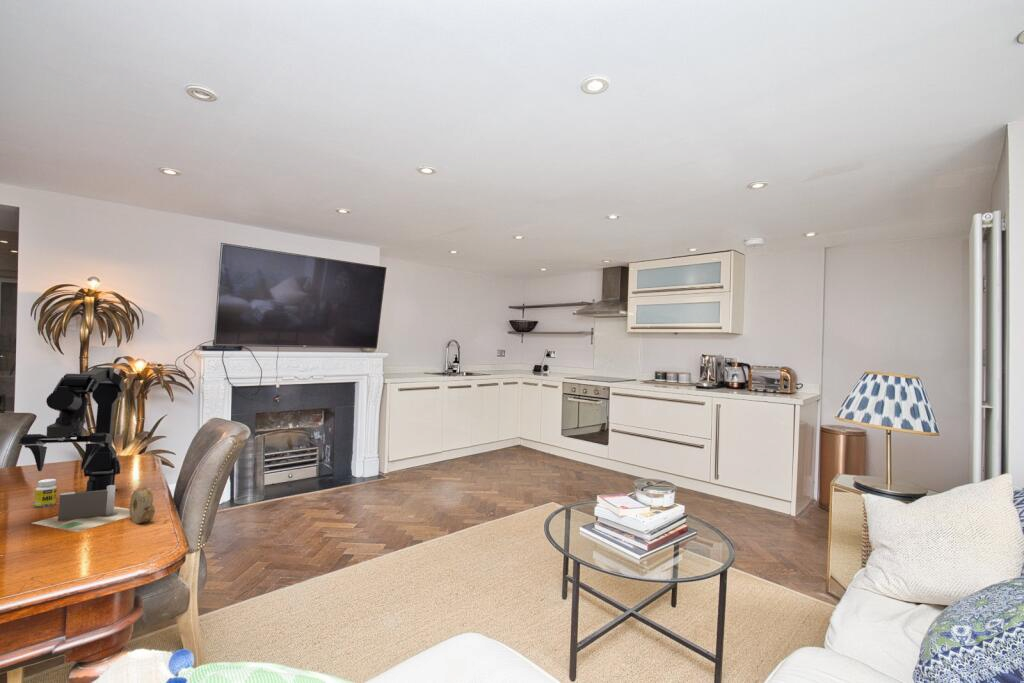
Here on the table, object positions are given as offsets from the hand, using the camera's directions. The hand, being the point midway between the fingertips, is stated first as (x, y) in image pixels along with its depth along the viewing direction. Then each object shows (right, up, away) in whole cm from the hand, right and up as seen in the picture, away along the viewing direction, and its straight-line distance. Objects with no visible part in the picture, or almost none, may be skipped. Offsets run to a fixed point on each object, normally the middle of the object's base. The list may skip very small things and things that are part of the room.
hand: (61, 470), depth 130 cm
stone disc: (+19, -17, +4) cm, 26 cm away
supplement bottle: (-18, -15, +13) cm, 27 cm away
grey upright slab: (+3, -15, +5) cm, 16 cm away
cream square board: (+4, -16, +5) cm, 17 cm away
